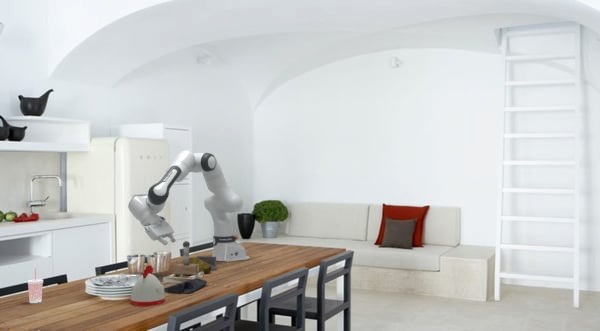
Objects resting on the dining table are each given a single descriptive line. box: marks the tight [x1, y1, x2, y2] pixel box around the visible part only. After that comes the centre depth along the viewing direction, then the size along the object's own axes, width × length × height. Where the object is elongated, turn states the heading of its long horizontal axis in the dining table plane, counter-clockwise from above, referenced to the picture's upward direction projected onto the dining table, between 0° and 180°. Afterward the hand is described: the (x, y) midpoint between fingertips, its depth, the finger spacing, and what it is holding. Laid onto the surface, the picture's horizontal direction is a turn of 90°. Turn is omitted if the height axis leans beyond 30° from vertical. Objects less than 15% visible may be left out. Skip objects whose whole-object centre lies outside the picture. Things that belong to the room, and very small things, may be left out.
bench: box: [162, 255, 217, 284], centre depth 314 cm, size 39×14×7 cm, turn 166°
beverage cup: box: [27, 267, 44, 304], centre depth 257 cm, size 6×6×14 cm
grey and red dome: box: [130, 265, 166, 307], centre depth 257 cm, size 14×14×15 cm
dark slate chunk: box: [164, 278, 208, 295], centre depth 283 cm, size 15×22×5 cm
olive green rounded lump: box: [189, 256, 212, 274], centre depth 322 cm, size 8×13×8 cm, turn 57°
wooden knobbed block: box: [173, 240, 199, 277], centre depth 307 cm, size 7×11×18 cm, turn 76°
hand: (170, 243), depth 308 cm, fingers open, 8 cm apart
